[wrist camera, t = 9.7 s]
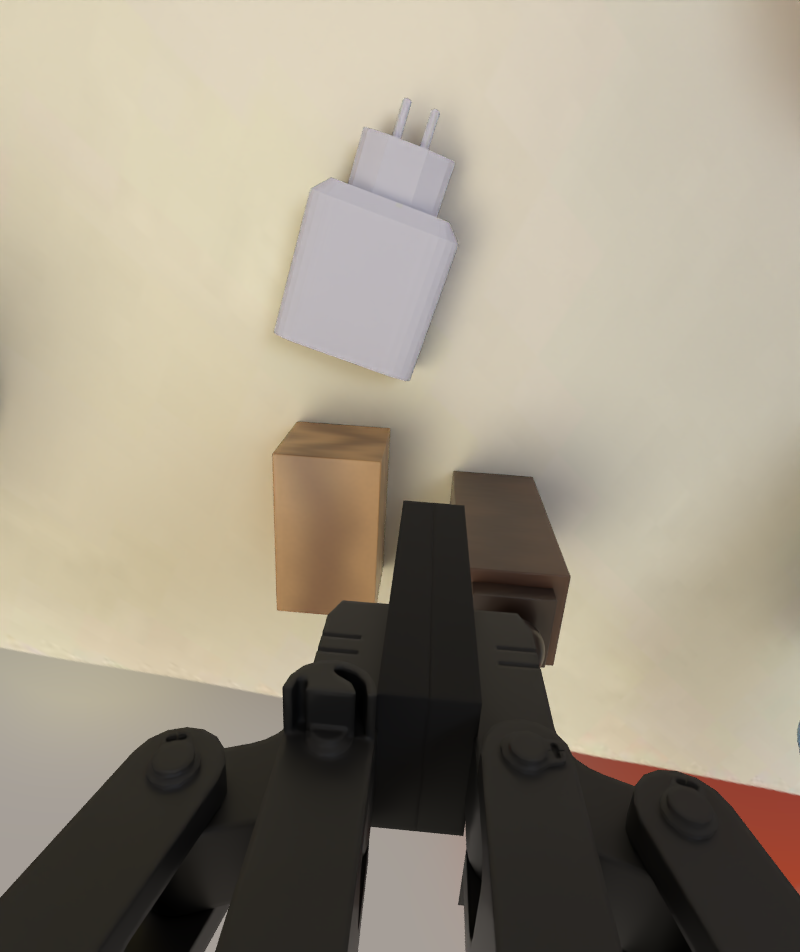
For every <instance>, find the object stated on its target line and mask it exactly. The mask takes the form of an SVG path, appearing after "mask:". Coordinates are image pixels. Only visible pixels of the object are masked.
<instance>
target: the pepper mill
mask: <svg viewBox="0 0 800 952" xmlns="http://www.w3.org/2000/svg"><path fill="white" fill-rule="evenodd" d="M450 504H453V505H464V506H465V517H466V528H467V539H468V551H469V562H470V573H471V584H472V595H473V606H474V610H484V611H496V612H508V613H518V614H519V616H520V617H521V618H522V619H523V620H524V622H525V623H526V624H527V625H528V626H529V628H530V629H531V630H532V634H533V638H534V642H535V647H536V653H537V655H538V660H539V664H540V668H541V667H543V668H544V667H545V665H553V664H554V659H555V654H556V649H557V644H558V638H559V633H560V628H561V623H562V618H563V613H564V608H565V603H566V598H567V593H568V587H569V582H570V574H569V571H568V569H567V566H566V564H565V561H564V558H563V556H562V553H561V550H560V548H559V545H558V543H557V540H556V537H555V535H554V532H553V529H552V527H551V524H550V522H549V519H548V516H547V514H546V511H545V508H544V506H543V503H542V501H541V498H540V495H539V493H538V490H537V487H536V485H535V482H534V480H533V477H524V476H511V475H498V474H485V473H472V472H459V471H454V472H453V481H452V491H451V501H450Z"/></svg>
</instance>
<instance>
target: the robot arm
mask: <svg viewBox="0 0 800 952" xmlns="http://www.w3.org/2000/svg"><path fill="white" fill-rule="evenodd" d="M283 720H284V721H283V722H284V729H283V730H282V731H280V732H279V733H278V734H276V735H274V736H271V737H269V738H268V739H265V740H262V741H258V742H255V743H251V744H246V745H240V746H235V747H229V748H224V747H223V746H222V744H221V743H220V741H219V739H218V738H217V737H216V736H214V735H213V734H211V733H209V732H207V731H206V730H203V729H197V728H189V727H186V728H179V729H174V730H167V731H165V732H163V733H161V734H159V735H156V736H154V737H152V738H150V739H148V740H147V741H146V742H145V743H143V744H142V745H141V746H140V747H138V748H137V749H136V750H135V751H134V752H133V753H132V754H131V755H130V756H129V757H128V758H127V759H126V761H124V763H123V764H122V765H121V766H120V767H119V768H118V769H117V770H116V771H115V773H113V775H112V776H111V777H110V778H109V779H108V780H107V781H106V782H105V783H104V784H103V786H102V787H101V788H100V789H99V790H98V791H97V792H96V793H95V794H94V795H93V797H92V798H91V799H90V800H89V801H88V802H87V803H86V804H85V805H84V806H83V808H82V809H81V810H80V811H79V812H78V813H77V814H76V815H75V816H74V817H73V818H72V820H71V821H70V822H69V823H68V824H67V825H66V826H65V827H64V828H63V829H62V831H61V832H60V833H59V834H58V835H57V836H56V837H55V838H54V839H53V840H52V842H51V843H50V844H49V845H48V846H47V847H46V848H45V849H44V850H43V851H42V853H41V854H40V855H39V856H38V857H37V858H36V859H35V860H34V861H33V862H32V863H31V865H30V866H29V867H28V868H27V869H26V870H25V871H24V872H23V873H22V874H21V876H20V877H19V878H18V879H17V880H16V881H15V882H14V883H13V884H12V885H11V887H10V888H9V889H8V890H7V891H6V892H5V893H4V894H3V895H2V896H1V897H0V952H204V951H205V949H206V948H207V946H208V944H209V942H210V941H211V938H212V937H213V935H214V933H215V931H216V930H217V928H218V926H219V924H220V922H221V921H222V918H223V917H224V915H225V913H226V912H227V910H228V912H227V915H226V919H225V922H224V925H223V928H222V931H221V934H220V938H219V941H218V945H217V947H216V951H215V952H358V945H359V936H360V927H361V918H362V909H363V901H364V892H365V882H366V874H367V866H368V849H369V836H370V827H379V828H389V829H399V830H409V831H420V832H430V833H440V834H450V835H460V836H463V834H464V827H465V824H466V847H467V849H466V855H465V862H464V869H463V876H462V882H461V889H460V896H459V903H458V905H464V914H465V915H464V916H465V947H466V952H800V895H799V894H798V893H797V891H796V890H795V889H794V887H793V886H792V885H791V883H790V882H789V881H788V880H787V878H786V877H785V876H784V874H783V873H782V872H781V870H780V869H779V868H778V866H777V865H776V864H775V863H774V861H773V860H772V859H771V857H770V856H769V855H768V854H767V852H766V851H765V849H764V848H763V847H762V845H761V844H760V843H759V842H758V840H757V839H756V838H755V836H754V835H753V834H752V832H751V831H750V830H749V828H748V827H747V826H746V825H745V823H744V822H743V821H742V819H741V818H740V817H739V816H738V814H737V813H736V811H735V810H734V809H733V808H732V806H731V805H730V804H729V803H728V802H727V801H726V800H725V799H724V798H723V797H722V796H721V795H720V794H719V793H718V792H717V791H716V790H714V789H713V788H711V787H710V786H708V785H706V784H705V783H703V782H702V781H700V780H699V779H697V778H695V777H692V776H689V775H686V774H683V773H681V772H678V771H667V770H657V771H654V772H651V773H648V774H645V775H643V777H642V778H641V779H640V780H639V782H638V783H637V784H636V785H635V786H633V785H630V784H627V783H625V782H622V781H619V780H616V779H614V778H611V777H608V776H606V775H603V774H601V773H599V772H596V771H594V770H592V769H590V768H588V767H587V766H585V765H584V764H582V763H581V762H579V761H578V760H576V759H575V758H574V757H573V756H572V754H571V752H570V749H569V747H568V745H567V744H566V743H565V742H564V741H563V740H562V739H561V738H560V737H559V736H558V735H557V734H556V731H555V728H554V724H553V720H552V716H551V711H550V707H549V703H548V698H547V694H546V690H545V685H544V681H543V677H542V673H541V669H540V664H539V660H538V655H537V653H536V647H535V642H534V638H533V634H532V630H531V629H530V628H529V626H528V625H527V624H526V623H525V622H524V620H523V619H522V618H521V617H520V616H519V614H518V613H508V612H496V611H484V610H474V606H473V595H472V584H471V573H470V562H469V551H468V539H467V528H466V517H465V506H464V505H453V504H440V503H427V502H414V501H403V508H402V516H401V523H400V530H399V537H398V544H397V551H396V559H395V566H394V573H393V580H392V587H391V594H390V602H389V604H381V603H370V602H358V601H346V600H342V601H341V602H340V603H339V604H338V605H337V606H336V607H335V608H334V609H333V610H332V611H331V612H330V613H329V614H328V616H327V619H326V623H325V626H324V629H323V634H322V636H321V640H320V643H319V646H318V651H317V653H316V656H315V660H314V663H311V664H308V665H305V666H303V667H301V668H300V669H298V670H297V671H296V672H294V673H293V674H291V675H290V677H289V678H288V680H287V681H286V683H285V684H284V686H283ZM797 737H798V738H797V742H798V746H799V753H800V722H799V725H798V729H797ZM229 905H230V906H229ZM228 908H229V909H228Z"/></svg>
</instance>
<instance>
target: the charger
mask: <svg viewBox="0 0 800 952" xmlns="http://www.w3.org/2000/svg"><path fill="white" fill-rule="evenodd" d="M411 103H412V102H411V100H410V99H409V98H404V99H403V101H402V104H401V108H400V111H399V114H398V118H397V121H396V125H395V128H394V131H393V135H390V134H386V133H383V132H380V131H377V130H374V129H371V128H367V127H363V131H362V135H361V138H360V142H359V146H358V149H357V153H356V156H355V160H354V164H353V167H352V171H351V174H350V178H349V182H348V184H347V183H345V182H342V181H339V180H337V179H334V178H329V179H327V180H325V181H323V182H321V183H320V184H318V185H316V186H314V187H312V188H311V189H310V192H309V196H308V200H307V204H306V208H305V212H304V216H303V220H302V224H301V227H300V231H299V235H298V239H297V243H296V247H295V251H294V255H293V259H292V263H291V267H290V271H289V274H288V278H287V282H286V286H285V290H284V294H283V298H282V302H281V306H280V310H279V314H278V318H277V321H276V325H275V329H274V333H275V334H276V335H278V336H280V337H282V338H284V339H287V340H289V341H292V342H294V343H297V344H300V345H303V346H306V347H308V348H311V349H314V350H317V351H319V352H322V353H325V354H328V355H331V356H333V357H336V358H339V359H342V360H345V361H347V362H350V363H353V364H356V365H359V366H361V367H364V368H367V369H370V370H373V371H375V372H378V373H381V374H384V375H387V376H390V377H393V378H396V379H400V380H404V381H410V379H411V376H412V373H413V370H414V368H415V365H416V362H417V359H418V356H419V354H420V351H421V348H422V345H423V343H424V340H425V337H426V334H427V331H428V329H429V326H430V323H431V320H432V317H433V315H434V312H435V309H436V306H437V304H438V301H439V298H440V295H441V292H442V290H443V287H444V284H445V281H446V278H447V276H448V273H449V270H450V267H451V264H452V262H453V259H454V256H455V253H456V251H457V248H458V245H459V244H458V242H457V239H456V237H455V235H454V232H453V230H452V228H451V225H450V223H449V222H447V221H445V220H442V219H440V218H437V215H438V212H439V209H440V206H441V204H442V201H443V198H444V195H445V192H446V189H447V186H448V183H449V180H450V177H451V174H452V171H453V168H454V165H455V162H454V161H452V160H450V159H448V158H446V157H444V156H441V155H439V154H437V153H435V152H433V151H430V150H428V149H429V146H430V143H431V140H432V137H433V134H434V130H435V127H436V124H437V121H438V118H439V115H440V112H439V111H438V110H437V109H432V110H431V113H430V116H429V119H428V122H427V125H426V129H425V132H424V135H423V138H422V141H421V144H420V146H418V145H415V144H413V143H410V142H408V141H405V140H402V139H401V136H402V133H403V130H404V126H405V123H406V120H407V117H408V113H409V110H410V107H411Z"/></svg>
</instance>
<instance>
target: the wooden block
mask: <svg viewBox="0 0 800 952" xmlns="http://www.w3.org/2000/svg"><path fill="white" fill-rule="evenodd" d="M389 443H390V429H389V428H377V427H363V426H350V425H336V424H323V423H309V422H297V423H296V424H295V425H294V427H293V428H292V429H291V430H290V432H289V433H288V434H287V436H286V437H285V438H284V439H283V441H282V442H281V443H280V445H279V446H278V447H277V449H276V450H275V451H274V452H273V454H272V458H273V492H274V527H275V561H276V596H277V610H278V611H290V612H302V613H313V614H325V615H328V614H329V613H330V612H331V611H332V610H333V609H334V608H335V607H336V606H337V605H338V604H339V603H340V602H341V601H342V600H346V601H358V602H370V603H377V599H378V593H379V587H380V582H381V576H382V570H383V557H384V538H385V519H386V500H387V481H388V462H389Z"/></svg>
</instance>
